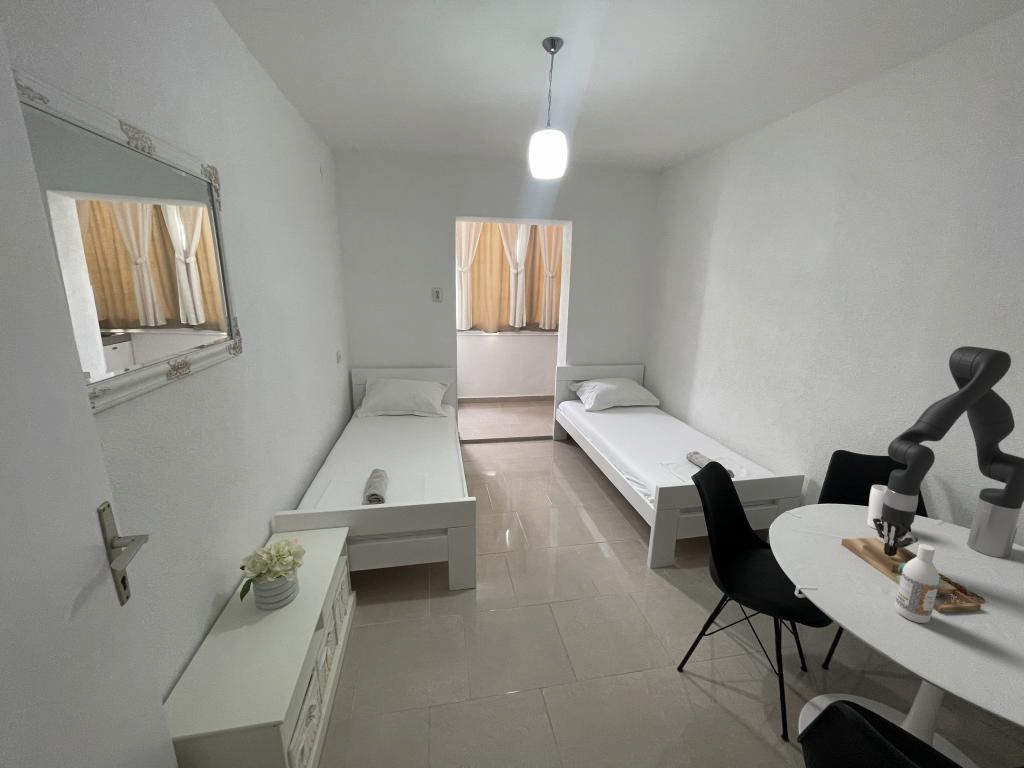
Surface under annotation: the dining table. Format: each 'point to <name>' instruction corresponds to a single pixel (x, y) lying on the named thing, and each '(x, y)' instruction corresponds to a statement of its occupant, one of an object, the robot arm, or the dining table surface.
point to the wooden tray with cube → (890, 567)
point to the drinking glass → (876, 503)
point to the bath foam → (918, 586)
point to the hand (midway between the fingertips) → (889, 554)
